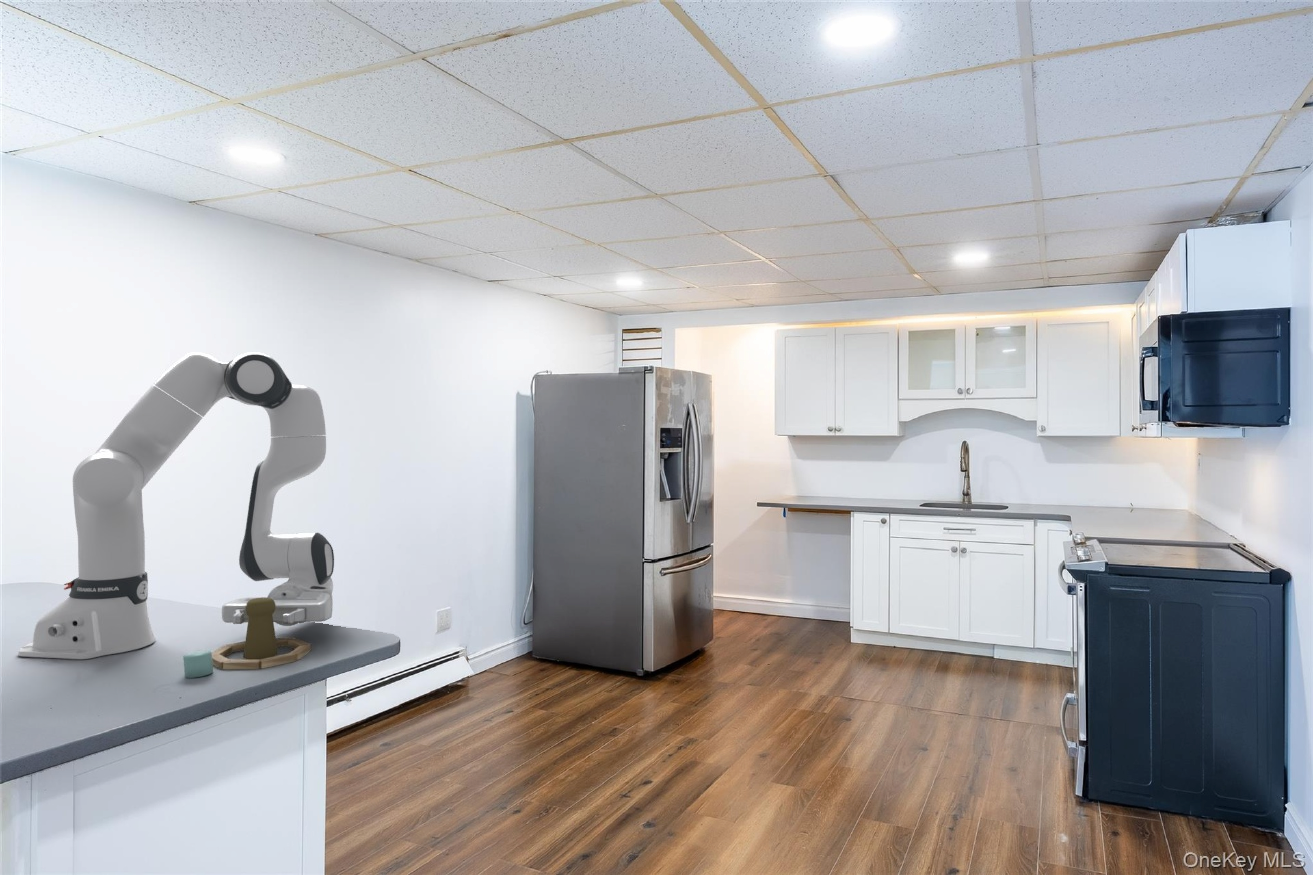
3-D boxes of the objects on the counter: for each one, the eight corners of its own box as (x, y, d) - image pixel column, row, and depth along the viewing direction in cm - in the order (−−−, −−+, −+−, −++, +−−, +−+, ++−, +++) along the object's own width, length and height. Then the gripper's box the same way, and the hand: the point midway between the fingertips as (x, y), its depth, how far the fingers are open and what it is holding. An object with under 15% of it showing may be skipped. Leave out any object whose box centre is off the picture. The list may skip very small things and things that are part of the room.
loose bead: (190, 679, 142) (188, 659, 142) (180, 675, 145) (179, 656, 145) (217, 672, 145) (215, 652, 145) (207, 668, 148) (205, 649, 148)
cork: (263, 661, 153) (262, 602, 153) (235, 658, 155) (235, 600, 154) (285, 652, 159) (284, 596, 159) (258, 649, 161) (258, 594, 160)
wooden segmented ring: (193, 669, 148) (193, 663, 148) (235, 644, 164) (235, 638, 164) (287, 668, 149) (287, 662, 149) (320, 643, 165) (320, 637, 165)
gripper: (239, 588, 170) (206, 603, 156) (339, 587, 171) (314, 602, 157) (239, 618, 170) (206, 636, 157) (339, 617, 171) (315, 635, 158)
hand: (261, 619), depth 157 cm, fingers open, 8 cm apart
